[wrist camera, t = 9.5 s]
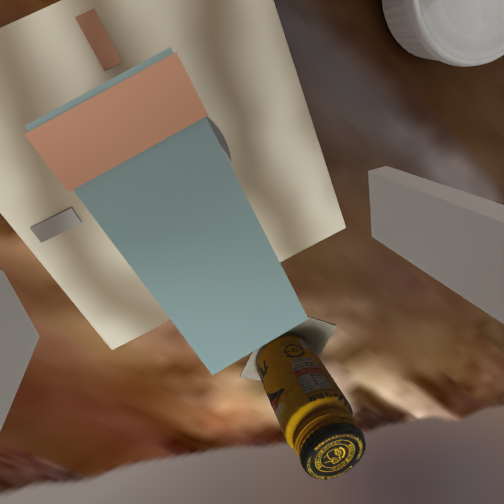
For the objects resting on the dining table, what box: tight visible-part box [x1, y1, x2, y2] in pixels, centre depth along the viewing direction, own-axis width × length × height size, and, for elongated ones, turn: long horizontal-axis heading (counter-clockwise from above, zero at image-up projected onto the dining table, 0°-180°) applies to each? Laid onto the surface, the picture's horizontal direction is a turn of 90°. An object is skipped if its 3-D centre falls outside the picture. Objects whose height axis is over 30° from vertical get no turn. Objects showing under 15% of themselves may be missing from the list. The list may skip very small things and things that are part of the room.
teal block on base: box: [24, 47, 308, 375], centre depth 20 cm, size 12×7×14 cm, turn 26°
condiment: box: [240, 316, 366, 480], centre depth 34 cm, size 7×8×12 cm
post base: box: [0, 0, 346, 350], centre depth 27 cm, size 22×22×2 cm
